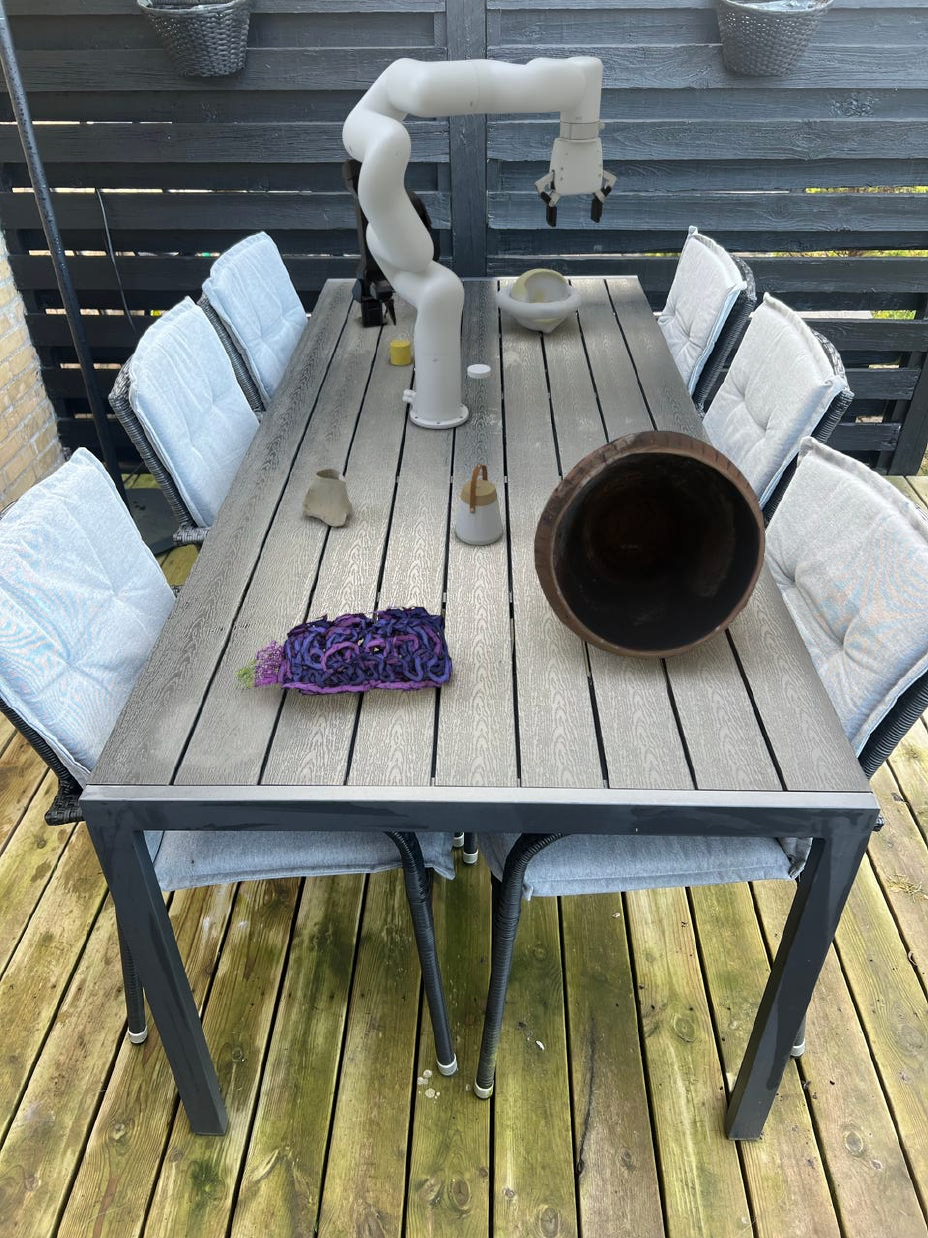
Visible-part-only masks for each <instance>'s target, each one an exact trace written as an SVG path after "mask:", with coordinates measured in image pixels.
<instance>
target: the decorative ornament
mask: <svg viewBox="0 0 928 1238" xmlns="http://www.w3.org/2000/svg"><path fill="white" fill-rule="evenodd" d="M401 608H402V609H400V607H398V606H391V605H390V606H387V608H386V609H385V610H375V611H369V612H357V613H347V612H346V613H345V614H341V615H339V616H336V617H335V619H333V620H328V613H325V614H323V615H322V616H317V617H316V618H314V620H313V621H309V622H303V623H300V624H298V625H294V627H292V628H291V629H290V630H289V631H288V632H287V633H286V636H287V639H286V640H284V643H283V644H280V645H278V646H277V644H278V641H277V640H274V639H273V640H272V641H270V643H268V644H269V646H265V649H264V648H262V649H261V650H260V651H259V650H258V651H257V653H256V655H255V656H254V657H255V658H254V659H253V660H252V661H250V663H248V664H247V665H245V666H243V667H241V668H239V669H238V670H236V673H235V675H236V677H235V679H238V681H239V683H238V684H237V686H236V688H235V690H238V689H240V687H239V686H242V685H243V684H244V685H243V686H242V687H241V689H242V690H241V693H243V692H244V690H251V689H260V688H261V689H260V690H262V691H263V688H264V686H266V688H267V690H268V689H269V690H270V689H273V687H269V688H268V686H271V685H276V689H280V690H285V692H286V693H289V691H290V690H298V691H297V693H298V695H301V696H310V697H311V696H312V697H317V696H331V695H342V694H347V693H348V694H365V693H370V690H395V691H397V690H402V691H403V692H404V693H405V692H419V691H420V690H421V689H433V688H434V689H436V688H438V689H439V688H442V684H444V683H445V684H446V683H450V680H451V677H452V673H453V672H454V670H453V658H452V657H451V656H450V654H449V652H450V651H449V647H448V643H447V640H446V635H445V633H444V630H445V629H446V621H445V617H444V616H443V614H430V613H429V612H428V610H427V609H426V608H425V607H424V606H419V605H418V606H416V605H412V606H410V607H405V606H401ZM366 614H376V618H377V619H376V618H375V619H374V618H370V617H368V616H367V615H366ZM373 621H375V622H373ZM360 641H361V642H360ZM359 642H360V644H359ZM276 646H277V647H276ZM376 649H377V650H376ZM265 653H267V655H265ZM251 666H253V667H251ZM265 666H266V667H265ZM253 674H254V675H253ZM425 675H426V676H425ZM278 685H280V686H278ZM277 686H278V687H277Z"/></svg>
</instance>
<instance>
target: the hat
mask: <svg viewBox="0 0 928 1238" xmlns="http://www.w3.org/2000/svg"><path fill="white" fill-rule="evenodd" d="M495 303H496V305H497V307H498V308H499V309H500V311H502V312H503V313H505V314H507V315H510V316H513V317H514V318H515V319H516V321H517V322H518V323H519V324H520V325H521V326H523V328H526V329H529V330H531V331H536V332H537V331H539V332H542V333H545V334H550V333H551V332H553V331H554V330H555V328H557V327H558V325H560V324H561V323H562V322H563V321H564V320H565V319H566V318H567V317H568V316H570V315H572V314H574V313H575V312H577V311H578V310H579V309H580V308H581V306H582V303H583V295H582V293H581V292H580V291H579V290H578V289H577V288H575V287H574V286H572V285H570V284H569V283H568V282H567V280H566V278H565V277H564V275H563V274H561V273H560V272H559V271H556V270H553V269H548V268H535V269H530V270H527V271H525V272H523V273H522V274H521V275H520V276H519V277H518V278H517V279H516V281H515V282H513V283H509V284H507V285H505V286H503V287H501V288H500V290H498V292H497V293H496V295H495Z"/></svg>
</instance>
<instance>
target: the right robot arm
mask: <svg viewBox="0 0 928 1238" xmlns="http://www.w3.org/2000/svg"><path fill="white" fill-rule="evenodd" d="M603 71H604V67H603V62H602V60H601V59H600V58H598V57H596V56H587V55H579V56H577V55H576V56H571V57H568V58H553V57H552V58H551V57H536V58H533V59H532V60H530V61H528V62H527V63H526V64H522V63H521V64H520V63H519V64H518V63H512V62H506V61H502V60H497V59H488V58H487V59H486V58H477V59H476V58H475V59H463V60H461V59H460V60H459V59H458V60H440V61H439V60H437V61H422V60H418V59H414V58H409V57H402V58H398V59H396V60H395V61H393V62H392V63H391V64H390V65H389V66H388V67H386V68H385V70H383V72H382V73H381V74H380V75H379V76H378V78H377V79H376V80H375V81H374V83H373V84H372V85H371V86H370V87H369V89H368V90H367V91H366V93H365V94H364V95H363V96H362V98H361V99H360V100H359V101H358V103H357V104H356V105H355V106H354V108H353V109H352V110H351V111H350V113H349V114H348V116H347V118H346V119H345V121H344V124H343V127H342V133H341V134H342V135H341V137H342V144H343V146H344V148H345V150H346V152H347V153H348V154H349V156H351V157H352V158H354V159H356V160H358V161H360V162H362V163H363V164H362V167H361V171H360V176H359V183H358V198H359V202H360V205H361V208H362V210H363V212H364V214H365V216H366V218H367V219H368V221H369V224H368V227H367V231H366V239H367V244H368V247H369V250H370V252H371V254H372V255H373V257H374V259H375V260H376V262H377V264H378V265H379V267H380V268H381V270H382V272H383V273H384V275H385V276H386V278H387V279H388V281H389V282H390V284H391V286H392V287H393V288H394V290H395V291H396V293H395V294H397V295H398V297H400V298H401V299H402V300H404V301H405V302H406V303H408V304H410V305H411V306H413V307H414V308H415V309H416V311H417V316H416V321H415V324H414V330H413V350H414V369H415V390H414V389H413V390H412V389H408V388H406V389H404V391H403V396H402V402H403V403H406V404H411V406H412V408H411V409H410V411H409V418H410V420H411V422H412V423H414V424H416V426H418V427H421V428H426V429H430V430H431V429H433V430H443V429H445V430H446V429H451V428H455V427H459V426H460V425H463V424H464V423H465V422H466V421H468V419H469V414H470V413H469V409H468V407H467V406H466V405H464V404H462V369H461V368H462V366H461V365H462V363H461V362H462V358H461V357H462V356H461V355H462V353H461V351H462V350H461V348H462V347H461V326H462V316H463V311H464V310H463V309H464V303H465V288H464V285H463V283H462V281H461V279H460V278H459V276H458V275H457V274H456V273H455V272H454V271H453V270H451V269H450V268H448V267H446V266H444V265H443V264H440V263H439V262H438V261H437V262H434V261H433V260H432V258H433V254H434V247H433V242H432V240H433V238H432V239H431V236H430V234H431V233H430V232H428V231H427V229H426V228H425V226H424V224H423V223H422V221H421V219H420V217H419V216H418V214H417V212H416V211H415V209H414V207H413V205H412V204H411V202H410V199H409V197H408V195H407V193H406V191H405V188H404V187H405V174H406V170H407V166H408V164H409V161H410V158H411V153H412V141H411V136H410V134H409V132H408V130H407V128H406V127H405V126H404V125H403V124H402V123H403V122H404V120H405V119H406V117H407V116H408V115H412V116H415V117H419V118H429V119H431V118H443V117H455V116H467V115H469V116H470V115H481V114H482V115H483V114H490V115H504V114H546V113H556V112H560V117H559V133H558V134H559V135H558V137H556V138H555V139H554V142H553V146H552V151H551V155H550V163H549V170H548V171H549V172H548V173H547V174H546V175H544V176H542V177H541V178H539V179H538V180H537V181H535V182H534V186H535V189H536V191H537V193H538V196H539V198H540V199H541V200H542V201H543V202H544V203H545V204H546V207H545V221H546V223H547V225H548V226H549V227H551V228H556V227H557V218H558V206H556V204H557V202H558V201H559V200H560V198H561V197H563V196H564V197H567V196H578V195H588V194H591V195H592V196H593V198H592V200H591V204H590V205H591V206H590V220H591V221H592V222H594V223H596V224H599V223H600V222H601V217H602V216H603V205H604V202H605V201H606V197H608V196H609V194H610V193H612V191H613V190H612V189H613V187H614V186H615V184H616V181H617V176H615V175H614V174H613V173H610V172H609V171H607V170H605V169H603V167H604V166H603V163H604V161H603V147H602V139H601V137H599V136H600V132H601V131H605V129H606V124H605V122H601V120H600V114H601V113H600V112H601V98H602V86H603ZM603 178H604V179H605V180H606V181H605V184H604V185H603V186H602V184H603ZM546 186H548V189H549V190H550V191H549V192H548V193H547V192H546V189H545V188H546ZM429 233H430V234H429Z"/></svg>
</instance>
